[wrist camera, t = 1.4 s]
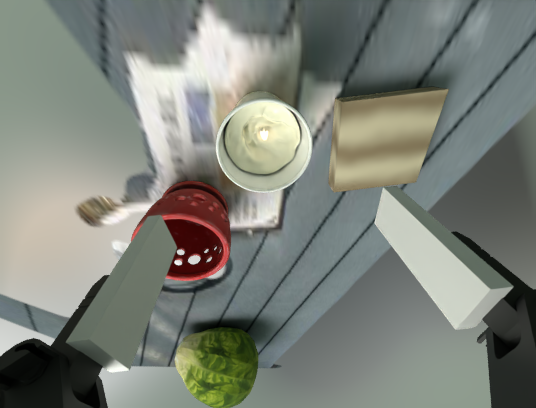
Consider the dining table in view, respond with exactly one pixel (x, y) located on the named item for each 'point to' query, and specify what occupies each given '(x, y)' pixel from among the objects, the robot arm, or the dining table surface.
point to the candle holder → (263, 143)
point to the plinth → (382, 137)
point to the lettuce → (218, 365)
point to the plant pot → (194, 228)
